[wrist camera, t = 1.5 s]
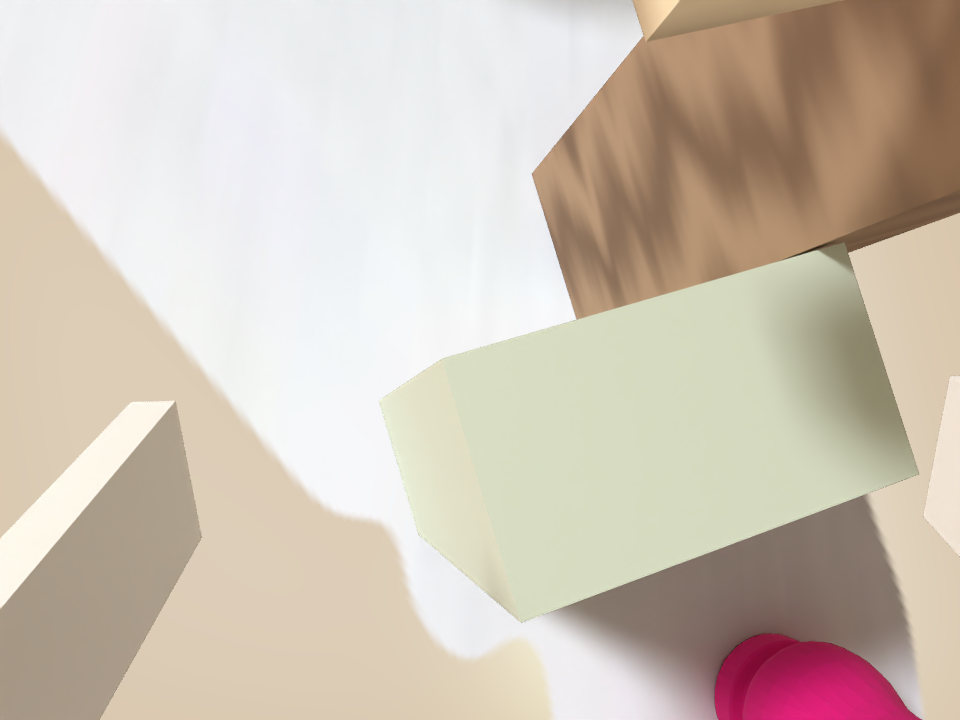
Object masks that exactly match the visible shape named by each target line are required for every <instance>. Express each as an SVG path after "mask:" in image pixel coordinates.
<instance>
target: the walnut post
mask: <svg viewBox="0 0 960 720" xmlns="http://www.w3.org/2000/svg"><path fill="white" fill-rule="evenodd" d="M532 176H533V179H534V182H535V186H536V189H537V192H538V195H539V199H540V202H541V205H542V208H543V212H544V215H545V218H546V221H547V225H548V228H549V231H550V234H551V238H552V241H553V244H554V247H555V251H556V254H557V257H558V260H559V264H560V267H561V270H562V273H563V277H564V280H565V283H566V286H567V290H568V293H569V296H570V299H571V303H572V306H573V309H574V312H575V316H576V319H577V320H578V319H581V318H585V317H588V316H591V315H595V314H598V313H602V312H605V311H609V310H612V309H616V308H619V307H623V306H626V305H629V304H633V303H636V302H640V301H643V300H647V299H650V298H654V297H657V296H661V295H664V294H667V293H671V292H674V291H678V290H681V289H685V288H688V287H692V286H695V285H699V284H702V283H705V282H709V281H712V280H716V279H719V278H723V277H726V276H730V275H733V274H737V273H740V272H744V271H747V270H750V269H754V268H757V267H761V266H764V265H768V264H771V263H775V262H778V261H782V260H785V259H788V258H792V257H795V256H799V255H802V254H806V253H809V252H813V251H816V250H820V249H823V248H826V247H830V246H833V245H837V244H840V243H845V246H846V249H847V252H848V253H849V252H851V251H854V250H857V249H860V248H863V247H865V246H868V245H871V244H874V243H876V242H879V241H882V240H885V239H888V238H890V237H893V236H896V235H899V234H902V233H904V232H907V231H910V230H913V229H915V228H918V227H921V226H924V225H927V224H929V223H932V222H935V221H938V220H941V219H943V218H946V217H949V216H952V215H954V214H957V213H960V0H842V1H838V2H833V3H828V4H823V5H819V6H814V7H809V8H805V9H800V10H795V11H790V12H786V13H781V14H776V15H771V16H767V17H762V18H757V19H752V20H748V21H743V22H738V23H733V24H729V25H724V26H719V27H715V28H710V29H705V30H700V31H696V32H691V33H686V34H681V35H677V36H672V37H667V38H662V39H658V40H653V41H648V42H646V41H645V38H644V36H643V37H642V39H641V40H640V41H639V42H638V43H637V45H636V46H635V47H634V48H633V50H632V51H631V52H630V53H629V55H628V56H627V57H626V58H625V60H624V61H623V62H622V63H621V64H620V66H619V67H618V68H617V69H616V71H615V72H614V73H613V74H612V76H611V77H610V78H609V79H608V81H607V82H606V83H605V84H604V85H603V87H602V88H601V89H600V90H599V92H598V93H597V94H596V95H595V97H594V98H593V99H592V100H591V102H590V103H589V104H588V105H587V106H586V108H585V109H584V110H583V111H582V113H581V114H580V115H579V116H578V118H577V119H576V120H575V121H574V123H573V124H572V125H571V126H570V127H569V129H568V130H567V131H566V132H565V134H564V135H563V136H562V137H561V139H560V140H559V141H558V142H557V144H556V145H555V146H554V147H553V148H552V150H551V151H550V152H549V153H548V155H547V156H546V157H545V158H544V160H543V161H542V162H541V163H540V165H539V166H538V167H537V168H536V169H535V171H534V172H533V173H532Z"/></svg>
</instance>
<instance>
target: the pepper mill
mask: <svg viewBox="0 0 960 720" xmlns="http://www.w3.org/2000/svg"><path fill="white" fill-rule="evenodd" d="M715 708H716V713H717V717H718V720H922V719H920V718H918V717H916V716H915V715H914V714H913V713H912V712H910V711H909V710H908V709H907V707H906V706H905V704H904V703H903V701H902V700H901V698H900V697H899V695H898V694H897V693H896V691H895V690H894V688H893V687H892V685H891V684H890V683H889V682H888V681H887V680H886V679H885V678H884V677H883V676H882V675H881V674H880V673H879V672H878V671H877V670H876V669H875V668H874V667H873V666H872V665H871V664H870V663H868V662H867V661H866V660H864V659H863V658H861V657H860V656H858V655H856V654H854V653H852V652H850V651H848V650H846V649H845V648H842V647H839V646H837V645H834V644H831V643H826V642H816V641H808V642H800V641H797V640H795V639H792V638H790V637H787V636H784V635H780V634H761V635H757V636H754V637H752V638H749V639H747V640H746V641H744V642H742V643H741V644H740V645H738V646H737V647H736V648H735V649H734V650H733V651H732V652H731V653H730V654H729V656H728V657H727V658H726V659H725V661H724V663H723V665H722V667H721V669H720V672H719V674H718V677H717V682H716V687H715Z"/></svg>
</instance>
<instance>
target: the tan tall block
mask: <svg viewBox="0 0 960 720" xmlns="http://www.w3.org/2000/svg"><path fill="white" fill-rule="evenodd" d="M838 1H842V0H633V3H634V6H635V9H636V13H637V16H638V19H639V22H640V25H641V28H642V32H643V35H644V38H645V41H646V42H648V41H653V40H658V39H662V38H667V37H672V36H677V35H681V34H686V33H691V32H696V31H700V30H705V29H710V28H715V27H719V26H724V25H729V24H733V23H738V22H743V21H748V20H752V19H757V18H762V17H767V16H771V15H776V14H781V13H786V12H790V11H795V10H800V9H805V8H809V7H814V6H819V5H823V4H828V3H833V2H838Z"/></svg>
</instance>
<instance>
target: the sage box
mask: <svg viewBox="0 0 960 720" xmlns="http://www.w3.org/2000/svg"><path fill="white" fill-rule="evenodd" d="M379 403H380V407H381V410H382V413H383V417H384V420H385V424H386V427H387V430H388V434H389V437H390V440H391V444H392V447H393V450H394V454H395V457H396V461H397V464H398V467H399V471H400V474H401V477H402V481H403V484H404V488H405V491H406V494H407V498H408V501H409V504H410V508H411V511H412V514H413V518H414V521H415V525H416V528H417V531H418V535H419V536H420V537H422V538H423V539H424V540H425V541H426V542H427V543H429V544H430V545H431V546H432V547H433V548H434V549H436V550H437V551H438V552H439V553H440V554H441V555H443V556H444V557H445V558H446V559H447V560H448V561H450V562H451V563H452V564H453V565H454V566H455V567H457V568H458V569H459V570H460V571H461V572H462V573H464V574H465V575H466V576H467V577H468V578H469V579H471V580H472V581H473V582H474V583H475V584H476V585H478V586H479V587H480V588H481V589H482V590H483V591H485V592H486V593H487V594H488V595H489V596H490V597H492V598H493V599H494V600H495V601H496V602H497V603H499V604H500V605H501V606H502V607H503V608H504V609H506V610H507V611H508V612H509V613H510V614H511V615H513V616H514V617H515V618H516V619H517V620H518V621H520V622H521V623H522V622H525V621H527V620H530V619H533V618H535V617H538V616H541V615H543V614H546V613H549V612H552V611H554V610H557V609H560V608H562V607H565V606H568V605H570V604H573V603H576V602H578V601H581V600H584V599H586V598H589V597H592V596H594V595H597V594H600V593H602V592H605V591H608V590H610V589H613V588H616V587H619V586H621V585H624V584H627V583H629V582H632V581H635V580H637V579H640V578H643V577H645V576H648V575H651V574H653V573H656V572H659V571H661V570H664V569H667V568H669V567H672V566H675V565H677V564H680V563H683V562H685V561H688V560H691V559H694V558H696V557H699V556H702V555H704V554H707V553H710V552H712V551H715V550H718V549H720V548H723V547H726V546H728V545H731V544H734V543H736V542H739V541H742V540H744V539H747V538H750V537H752V536H755V535H758V534H761V533H763V532H766V531H769V530H771V529H774V528H777V527H779V526H782V525H785V524H787V523H790V522H793V521H795V520H798V519H801V518H803V517H806V516H809V515H811V514H814V513H817V512H819V511H822V510H825V509H828V508H830V507H833V506H836V505H838V504H841V503H844V502H846V501H849V500H852V499H854V498H857V497H860V496H862V495H865V494H868V493H870V492H873V491H876V490H878V489H881V488H884V487H886V486H889V485H892V484H894V483H897V482H900V481H903V480H905V479H908V478H910V477H913V476H916V475H918V474H919V472H918V469H917V465H916V462H915V459H914V456H913V453H912V450H911V447H910V444H909V441H908V438H907V435H906V431H905V429H904V425H903V422H902V419H901V416H900V413H899V410H898V407H897V404H896V401H895V397H894V394H893V391H892V388H891V385H890V382H889V379H888V376H887V373H886V369H885V366H884V363H883V360H882V357H881V354H880V351H879V348H878V345H877V342H876V339H875V335H874V332H873V329H872V326H871V323H870V320H869V317H868V314H867V311H866V308H865V304H864V301H863V298H862V295H861V292H860V289H859V286H858V283H857V280H856V277H855V274H854V270H853V267H852V264H851V261H850V258H849V255H848V252H847V249H846V246H845V243H840V244H837V245H833V246H830V247H826V248H823V249H820V250H816V251H813V252H809V253H806V254H802V255H799V256H795V257H792V258H788V259H785V260H782V261H778V262H775V263H771V264H768V265H764V266H761V267H757V268H754V269H750V270H747V271H744V272H740V273H737V274H733V275H730V276H726V277H723V278H719V279H716V280H712V281H709V282H705V283H702V284H699V285H695V286H692V287H688V288H685V289H681V290H678V291H674V292H671V293H667V294H664V295H661V296H657V297H654V298H650V299H647V300H643V301H640V302H636V303H633V304H629V305H626V306H623V307H619V308H616V309H612V310H609V311H605V312H602V313H598V314H595V315H591V316H588V317H585V318H581V319H578V320H574V321H571V322H567V323H564V324H560V325H557V326H553V327H550V328H546V329H543V330H540V331H536V332H533V333H529V334H526V335H522V336H519V337H515V338H512V339H508V340H505V341H502V342H498V343H495V344H491V345H488V346H484V347H481V348H477V349H474V350H470V351H467V352H464V353H460V354H457V355H453V356H450V357H446V358H443V359H441V360H439V361H438V362H436V363H435V364H433V365H432V366H430V367H429V368H427V369H426V370H424V371H423V372H421V373H420V374H418V375H417V376H415V377H414V378H412V379H411V380H409V381H408V382H406V383H405V384H403V385H402V386H400V387H399V388H397V389H396V390H394V391H393V392H391V393H389V394H388V395H386V396H385V397H383V398H382V399H380V400H379Z"/></svg>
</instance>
